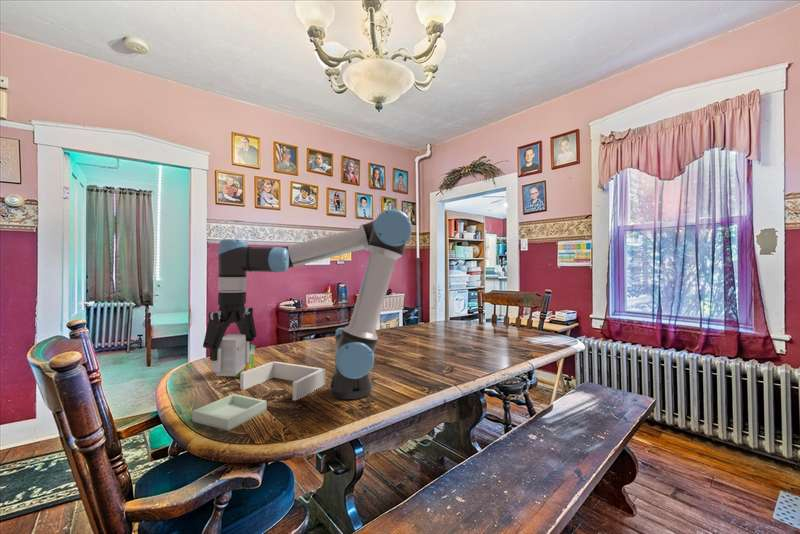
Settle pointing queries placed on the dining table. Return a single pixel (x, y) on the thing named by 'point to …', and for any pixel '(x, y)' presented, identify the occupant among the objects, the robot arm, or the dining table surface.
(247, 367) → the chalk box
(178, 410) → the dining table surface
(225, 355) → the small box
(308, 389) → the bay
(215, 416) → the tray
